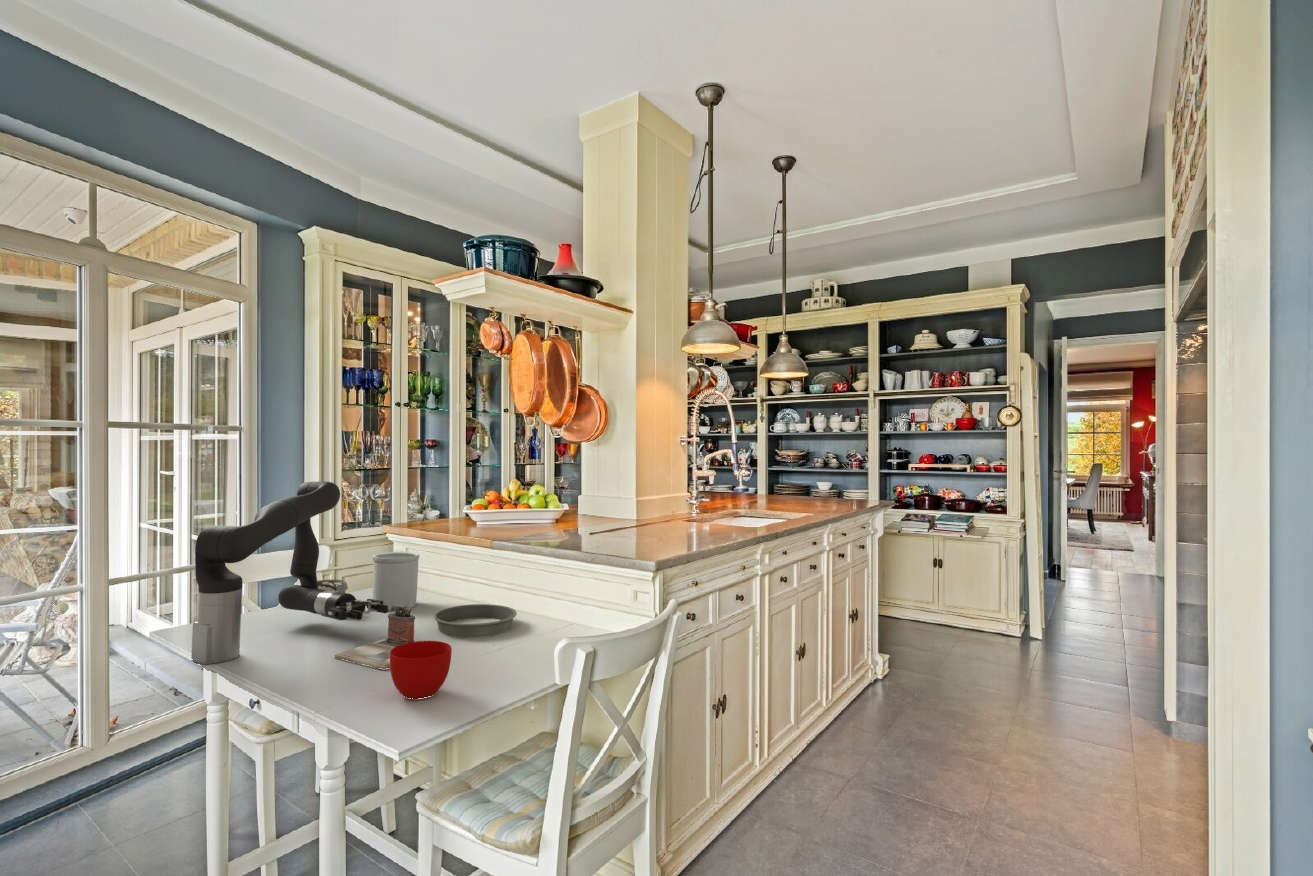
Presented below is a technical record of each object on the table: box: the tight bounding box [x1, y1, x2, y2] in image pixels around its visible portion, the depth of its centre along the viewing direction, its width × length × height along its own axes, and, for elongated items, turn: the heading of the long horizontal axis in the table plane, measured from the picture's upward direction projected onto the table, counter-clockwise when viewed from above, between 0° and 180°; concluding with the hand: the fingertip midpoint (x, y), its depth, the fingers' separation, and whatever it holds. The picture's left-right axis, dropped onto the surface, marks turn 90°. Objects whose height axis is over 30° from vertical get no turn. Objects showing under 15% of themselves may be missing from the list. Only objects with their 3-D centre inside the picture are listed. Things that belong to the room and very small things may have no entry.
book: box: [334, 637, 398, 669], centre depth 168 cm, size 18×18×1 cm
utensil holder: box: [371, 551, 420, 612], centre depth 217 cm, size 15×15×18 cm
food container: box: [317, 579, 349, 593], centre depth 207 cm, size 12×6×10 cm, turn 58°
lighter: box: [387, 605, 416, 645], centre depth 173 cm, size 8×3×10 cm, turn 73°
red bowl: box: [389, 640, 453, 699], centre depth 144 cm, size 13×17×10 cm
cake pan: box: [432, 603, 518, 638], centre depth 195 cm, size 25×25×4 cm
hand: (374, 612), depth 178 cm, fingers open, 8 cm apart
